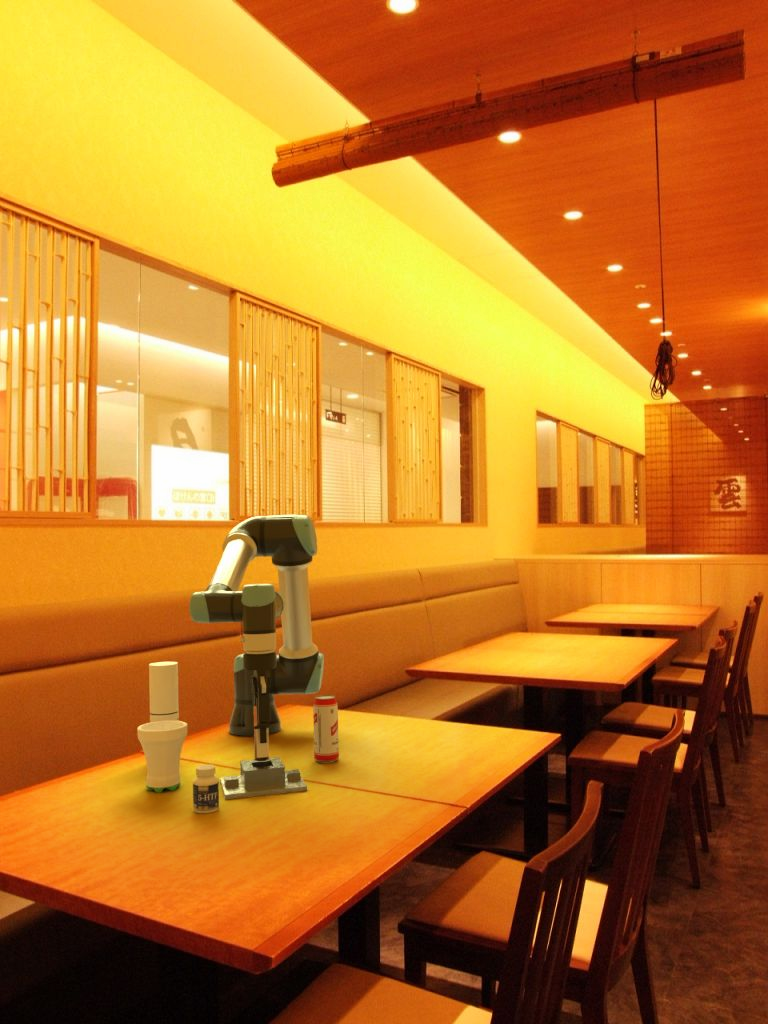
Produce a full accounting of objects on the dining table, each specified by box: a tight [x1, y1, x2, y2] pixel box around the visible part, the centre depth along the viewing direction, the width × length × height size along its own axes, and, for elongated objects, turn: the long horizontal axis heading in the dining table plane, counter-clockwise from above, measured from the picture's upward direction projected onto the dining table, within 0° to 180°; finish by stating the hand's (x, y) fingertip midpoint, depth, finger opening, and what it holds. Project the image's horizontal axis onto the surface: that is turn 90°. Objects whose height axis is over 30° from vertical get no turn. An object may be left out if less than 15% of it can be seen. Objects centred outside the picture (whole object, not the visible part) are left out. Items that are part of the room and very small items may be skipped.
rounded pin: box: [253, 706, 270, 761], centre depth 190 cm, size 3×3×12 cm
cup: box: [137, 720, 188, 794], centre depth 191 cm, size 11×11×14 cm
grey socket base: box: [219, 756, 308, 800], centre depth 190 cm, size 14×18×5 cm
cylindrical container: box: [148, 661, 180, 723], centre depth 215 cm, size 7×7×25 cm
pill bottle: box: [192, 764, 220, 814], centre depth 174 cm, size 5×5×9 cm
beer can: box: [312, 694, 340, 764], centre depth 211 cm, size 6×6×16 cm
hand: (261, 754), depth 190 cm, fingers closed on rounded pin, 3 cm apart
